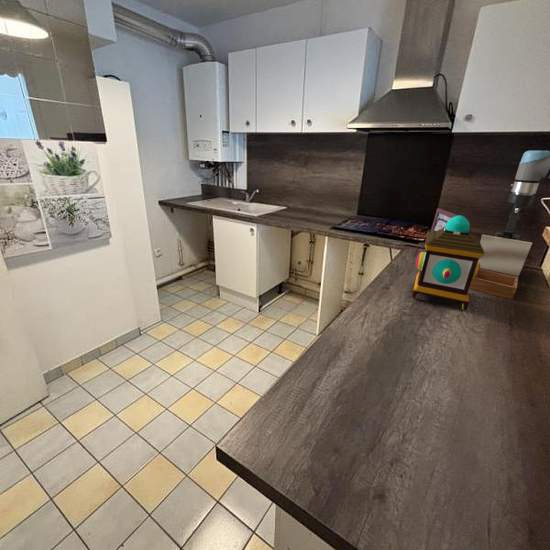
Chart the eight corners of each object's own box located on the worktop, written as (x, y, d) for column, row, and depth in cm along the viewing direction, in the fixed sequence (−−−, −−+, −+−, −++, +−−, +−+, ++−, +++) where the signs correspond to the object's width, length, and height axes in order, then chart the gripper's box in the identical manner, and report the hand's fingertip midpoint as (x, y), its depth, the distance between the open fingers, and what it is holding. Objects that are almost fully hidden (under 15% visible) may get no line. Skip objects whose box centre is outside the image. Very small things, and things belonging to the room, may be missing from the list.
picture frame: (423, 257, 149) (435, 208, 139) (442, 258, 148) (456, 208, 138) (439, 269, 133) (453, 215, 123) (460, 270, 133) (477, 216, 123)
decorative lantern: (406, 299, 105) (426, 216, 93) (411, 280, 121) (428, 207, 109) (471, 314, 97) (501, 225, 85) (467, 291, 113) (492, 214, 101)
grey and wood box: (532, 243, 107) (534, 233, 113) (482, 235, 116) (486, 226, 122) (518, 276, 114) (521, 265, 121) (472, 266, 123) (477, 256, 130)
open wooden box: (512, 299, 107) (516, 288, 105) (463, 287, 116) (467, 276, 114) (513, 288, 117) (518, 277, 115) (469, 277, 126) (472, 267, 124)
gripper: (511, 190, 123) (495, 238, 132) (508, 195, 106) (489, 251, 114) (534, 192, 119) (516, 241, 127) (534, 198, 101) (513, 255, 110)
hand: (503, 246), depth 121 cm, fingers open, 13 cm apart
